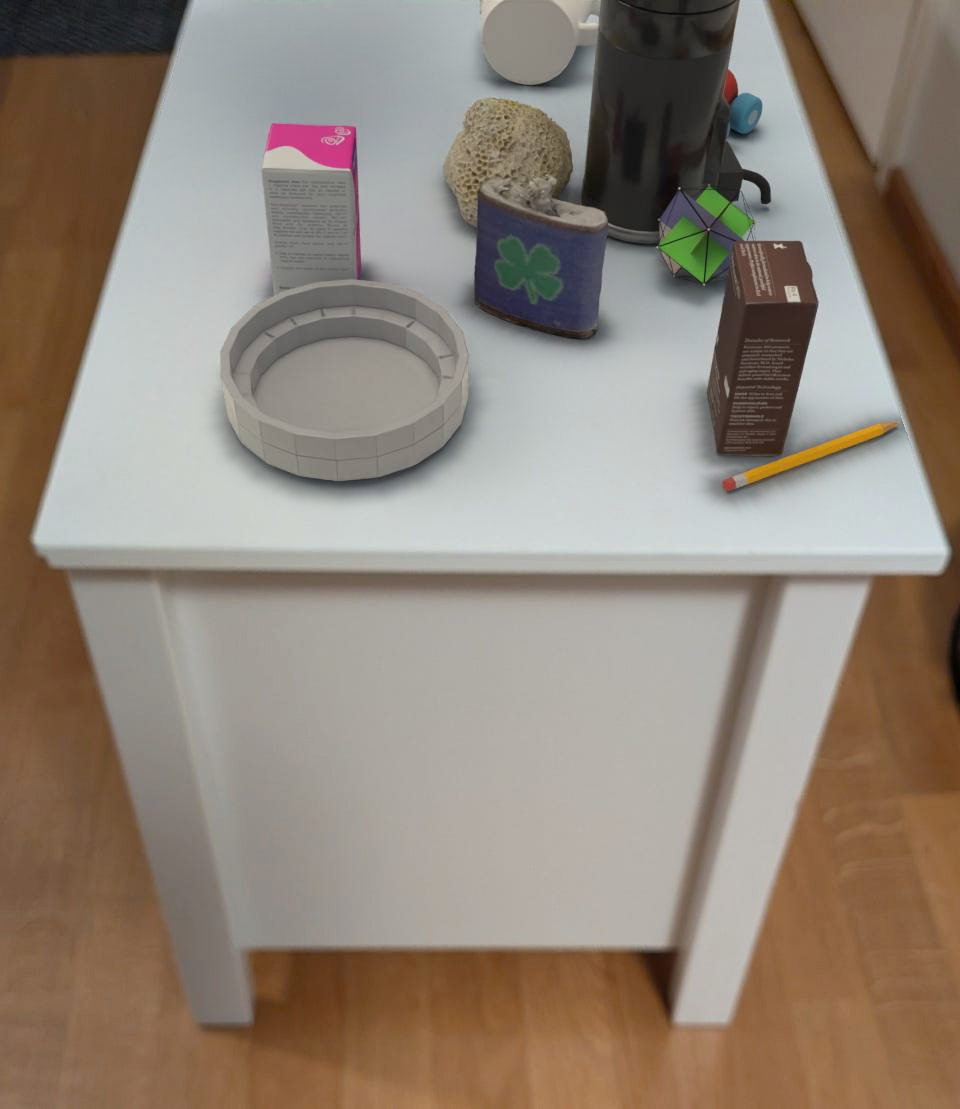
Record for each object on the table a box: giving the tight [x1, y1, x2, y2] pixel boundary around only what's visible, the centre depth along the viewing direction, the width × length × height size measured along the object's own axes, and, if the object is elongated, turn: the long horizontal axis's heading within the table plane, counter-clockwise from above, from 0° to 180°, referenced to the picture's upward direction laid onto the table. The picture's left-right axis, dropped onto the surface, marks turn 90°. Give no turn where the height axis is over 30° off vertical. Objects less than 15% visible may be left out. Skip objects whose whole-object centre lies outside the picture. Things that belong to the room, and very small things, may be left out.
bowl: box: [219, 279, 469, 482], centre depth 79 cm, size 15×15×4 cm
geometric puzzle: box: [655, 184, 757, 287], centre depth 88 cm, size 7×7×8 cm
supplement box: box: [260, 122, 362, 296], centre depth 84 cm, size 6×6×12 cm
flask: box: [473, 175, 609, 339], centre depth 83 cm, size 9×3×11 cm, turn 63°
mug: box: [479, 0, 600, 86], centre depth 108 cm, size 12×9×8 cm
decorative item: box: [442, 97, 574, 229], centre depth 94 cm, size 12×9×10 cm
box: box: [706, 240, 820, 457], centre depth 75 cm, size 6×4×12 cm
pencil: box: [721, 421, 901, 493], centre depth 78 cm, size 1×13×1 cm
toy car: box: [723, 68, 763, 141], centre depth 101 cm, size 9×9×10 cm
